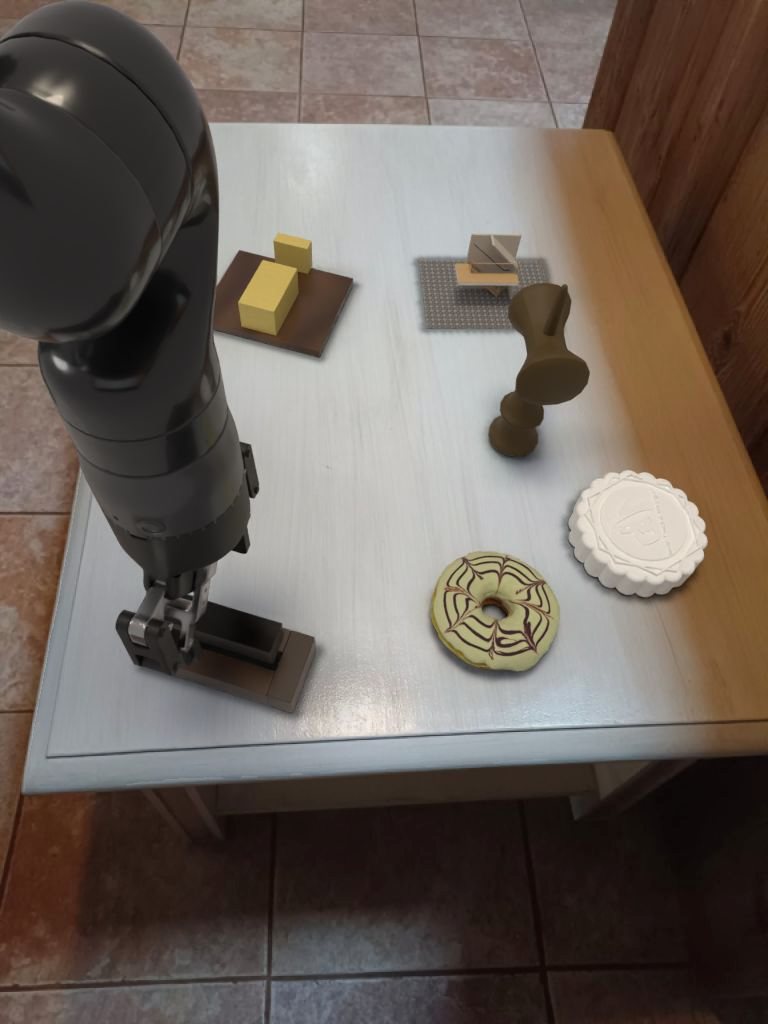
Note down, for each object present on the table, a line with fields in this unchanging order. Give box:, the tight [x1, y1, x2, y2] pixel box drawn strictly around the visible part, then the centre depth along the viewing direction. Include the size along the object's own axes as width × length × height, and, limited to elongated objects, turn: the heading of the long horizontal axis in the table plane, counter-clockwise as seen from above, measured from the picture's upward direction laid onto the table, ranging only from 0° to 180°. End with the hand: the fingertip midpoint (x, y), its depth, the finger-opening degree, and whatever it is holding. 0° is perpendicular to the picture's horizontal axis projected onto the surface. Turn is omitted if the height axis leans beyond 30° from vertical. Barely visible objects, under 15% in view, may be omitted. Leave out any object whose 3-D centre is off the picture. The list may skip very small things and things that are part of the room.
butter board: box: [213, 249, 354, 358], centre depth 81 cm, size 14×12×1 cm
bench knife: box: [166, 594, 284, 671], centre depth 56 cm, size 9×2×8 cm, turn 73°
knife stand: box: [145, 627, 317, 714], centre depth 59 cm, size 13×6×3 cm, turn 74°
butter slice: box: [272, 232, 313, 274], centre depth 82 cm, size 4×2×4 cm, turn 74°
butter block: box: [238, 260, 299, 336], centre depth 78 cm, size 4×7×4 cm, turn 164°
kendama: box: [488, 282, 591, 458], centre depth 65 cm, size 6×10×20 cm, turn 1°
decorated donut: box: [430, 550, 561, 672], centre depth 61 cm, size 10×11×4 cm
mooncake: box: [568, 469, 709, 598], centre depth 66 cm, size 12×12×4 cm
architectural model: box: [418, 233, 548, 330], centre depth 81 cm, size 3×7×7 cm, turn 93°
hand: (212, 598), depth 51 cm, fingers open, 8 cm apart
